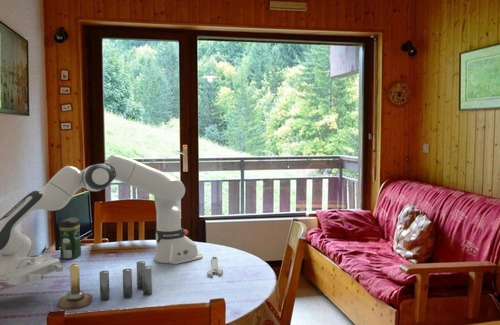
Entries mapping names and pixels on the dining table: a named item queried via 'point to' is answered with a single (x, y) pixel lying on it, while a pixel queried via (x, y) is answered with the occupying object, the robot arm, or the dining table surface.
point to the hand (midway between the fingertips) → (52, 273)
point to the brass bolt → (75, 285)
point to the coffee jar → (70, 238)
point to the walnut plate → (77, 304)
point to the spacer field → (128, 281)
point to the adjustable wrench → (214, 268)
